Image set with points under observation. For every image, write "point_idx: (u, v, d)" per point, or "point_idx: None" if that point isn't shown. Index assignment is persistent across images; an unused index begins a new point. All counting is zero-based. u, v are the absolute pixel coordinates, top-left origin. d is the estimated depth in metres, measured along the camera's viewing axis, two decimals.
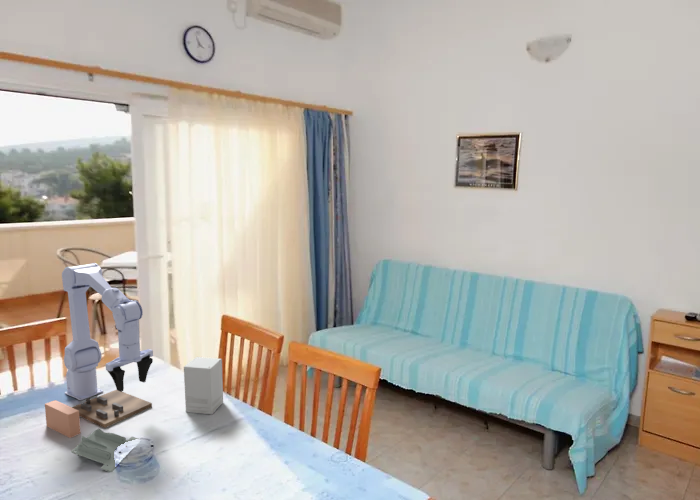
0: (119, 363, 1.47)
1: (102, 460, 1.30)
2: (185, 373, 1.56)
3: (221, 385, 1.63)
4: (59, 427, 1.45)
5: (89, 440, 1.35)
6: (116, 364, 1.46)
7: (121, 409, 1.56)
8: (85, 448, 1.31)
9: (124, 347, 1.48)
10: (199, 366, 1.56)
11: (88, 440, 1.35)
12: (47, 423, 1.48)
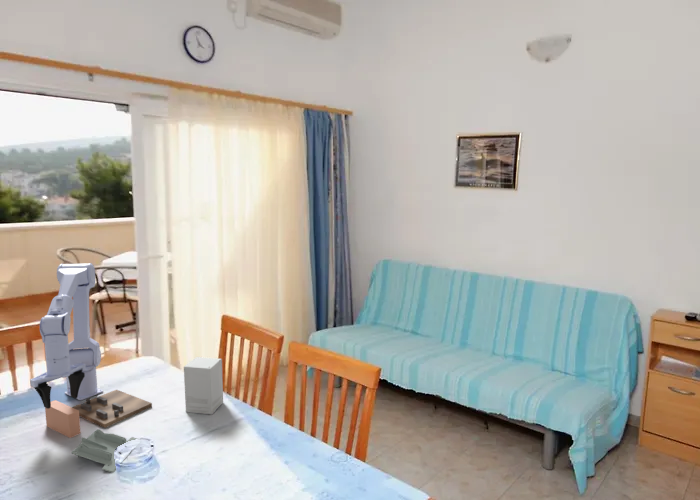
0: (45, 379, 1.39)
1: (103, 461, 1.29)
2: (185, 373, 1.56)
3: (221, 385, 1.63)
4: (59, 427, 1.45)
5: (89, 441, 1.34)
6: (41, 380, 1.39)
7: (121, 409, 1.56)
8: (86, 449, 1.30)
9: (51, 362, 1.40)
10: (199, 366, 1.56)
11: (88, 441, 1.34)
12: (47, 423, 1.48)
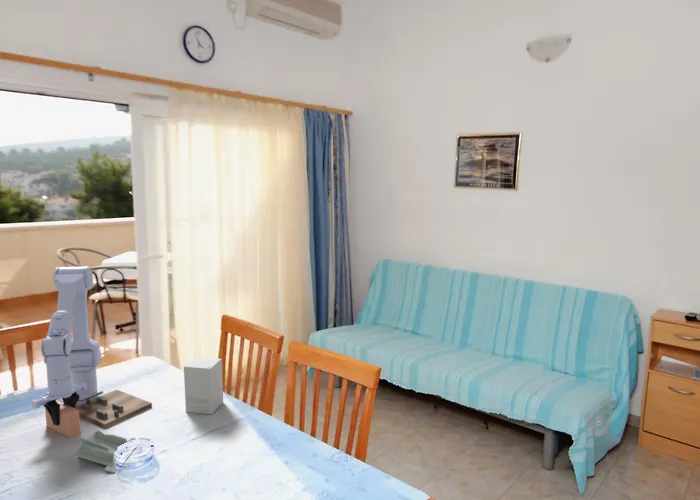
0: (46, 399, 1.40)
1: (105, 462, 1.29)
2: (185, 373, 1.56)
3: (221, 385, 1.63)
4: (59, 427, 1.45)
5: (90, 442, 1.34)
6: (43, 400, 1.40)
7: (121, 409, 1.56)
8: (87, 450, 1.30)
9: (52, 382, 1.41)
10: (199, 366, 1.56)
11: (89, 442, 1.34)
12: (47, 422, 1.48)
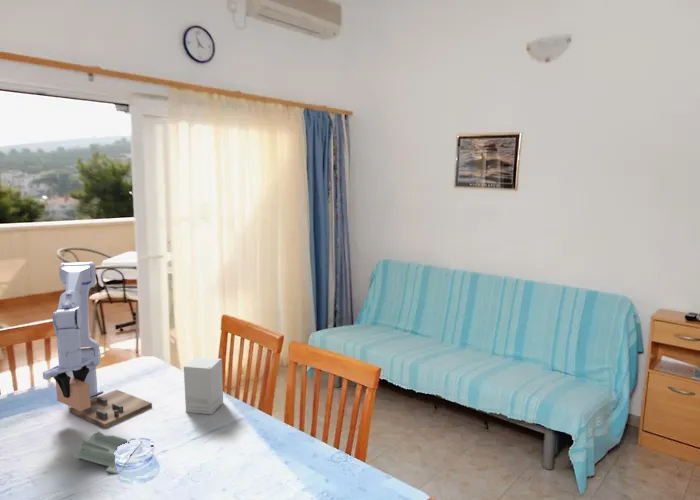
0: (57, 371, 1.42)
1: (106, 463, 1.29)
2: (185, 373, 1.56)
3: (221, 385, 1.63)
4: (70, 401, 1.46)
5: (90, 443, 1.33)
6: (54, 372, 1.42)
7: (121, 409, 1.56)
8: (88, 451, 1.29)
9: (63, 355, 1.43)
10: (199, 366, 1.56)
11: (89, 443, 1.33)
12: (57, 397, 1.50)
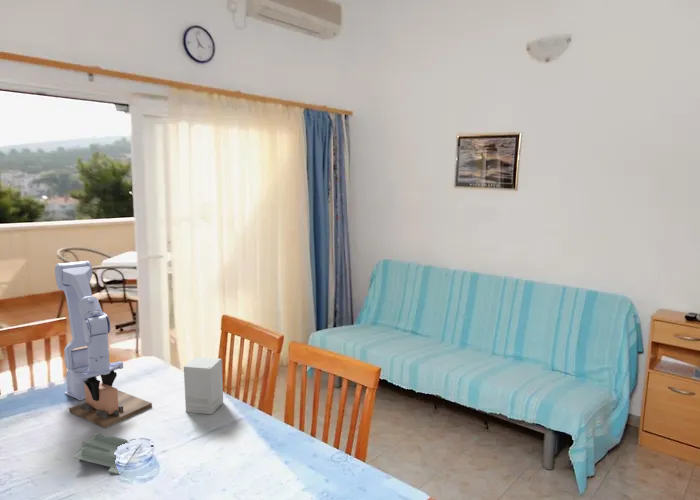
0: (88, 376, 1.50)
1: (108, 463, 1.28)
2: (185, 373, 1.56)
3: (221, 385, 1.63)
4: (99, 404, 1.54)
5: (90, 445, 1.32)
6: (85, 377, 1.49)
7: (121, 409, 1.56)
8: (89, 453, 1.29)
9: (93, 360, 1.51)
10: (199, 366, 1.56)
11: (89, 445, 1.32)
12: (86, 401, 1.58)
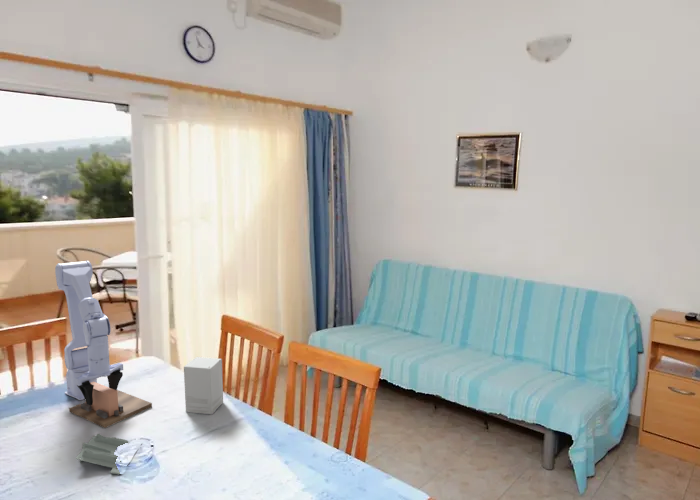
0: (88, 378, 1.50)
1: (110, 464, 1.28)
2: (185, 373, 1.56)
3: (221, 385, 1.63)
4: (99, 406, 1.54)
5: (91, 446, 1.32)
6: (85, 379, 1.50)
7: (121, 409, 1.56)
8: (90, 454, 1.28)
9: (93, 362, 1.51)
10: (199, 366, 1.56)
11: (90, 446, 1.32)
12: None
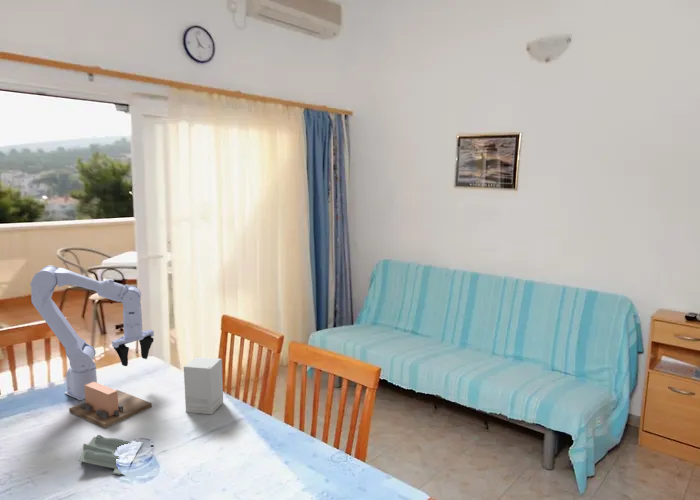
0: (124, 341, 1.67)
1: (112, 465, 1.28)
2: (185, 373, 1.56)
3: (221, 385, 1.63)
4: (99, 406, 1.54)
5: (92, 447, 1.31)
6: (121, 341, 1.67)
7: (121, 409, 1.56)
8: (92, 455, 1.28)
9: (128, 327, 1.68)
10: (199, 366, 1.56)
11: (91, 447, 1.31)
12: (86, 403, 1.58)
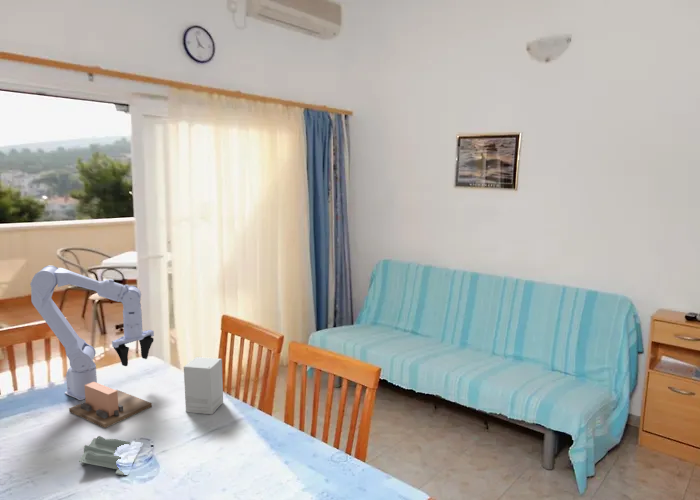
0: (124, 341, 1.67)
1: (114, 466, 1.27)
2: (185, 373, 1.56)
3: (221, 385, 1.63)
4: (99, 406, 1.54)
5: (93, 448, 1.31)
6: (121, 341, 1.67)
7: (121, 409, 1.56)
8: (93, 456, 1.27)
9: (128, 327, 1.68)
10: (199, 366, 1.56)
11: (92, 448, 1.31)
12: (86, 403, 1.58)
